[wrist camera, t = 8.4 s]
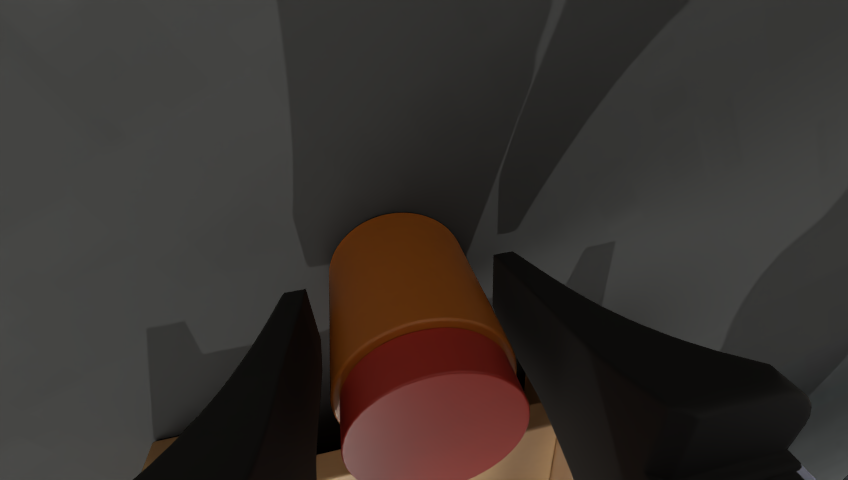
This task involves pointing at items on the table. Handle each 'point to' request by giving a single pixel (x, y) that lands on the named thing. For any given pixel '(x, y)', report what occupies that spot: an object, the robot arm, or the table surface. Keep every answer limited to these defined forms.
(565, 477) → the shelf
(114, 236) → the table surface
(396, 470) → the spice bottle
